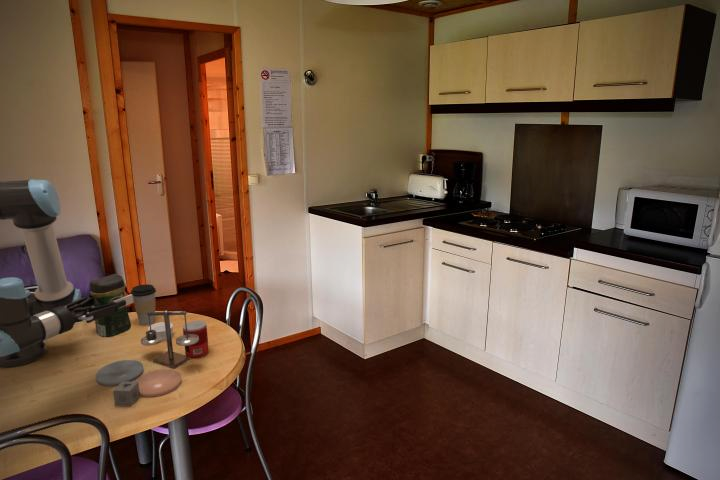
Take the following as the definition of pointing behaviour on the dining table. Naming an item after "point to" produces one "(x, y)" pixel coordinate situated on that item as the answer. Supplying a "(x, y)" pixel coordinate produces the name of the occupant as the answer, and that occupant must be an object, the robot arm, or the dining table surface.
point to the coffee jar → (106, 293)
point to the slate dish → (119, 372)
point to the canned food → (202, 345)
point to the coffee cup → (144, 302)
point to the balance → (169, 341)
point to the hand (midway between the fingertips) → (122, 296)
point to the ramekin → (161, 329)
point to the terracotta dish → (158, 382)
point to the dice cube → (126, 393)
